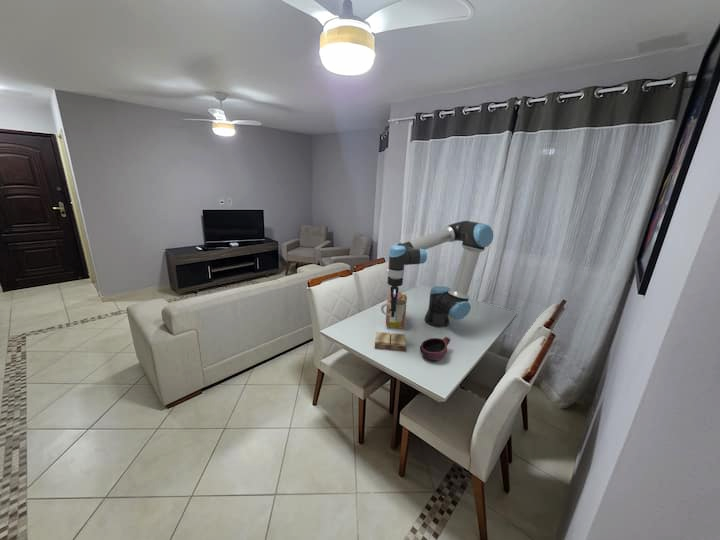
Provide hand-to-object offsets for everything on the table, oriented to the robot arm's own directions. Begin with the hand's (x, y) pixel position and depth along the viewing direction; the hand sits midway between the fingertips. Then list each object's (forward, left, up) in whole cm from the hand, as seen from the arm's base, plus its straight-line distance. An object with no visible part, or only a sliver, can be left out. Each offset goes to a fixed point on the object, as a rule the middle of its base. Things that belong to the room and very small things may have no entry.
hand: (392, 318), depth 141 cm
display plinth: (0, 0, -15) cm, 15 cm away
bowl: (-22, +6, -15) cm, 28 cm away
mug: (0, 0, 0) cm, 1 cm away
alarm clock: (-3, -24, -15) cm, 29 cm away
